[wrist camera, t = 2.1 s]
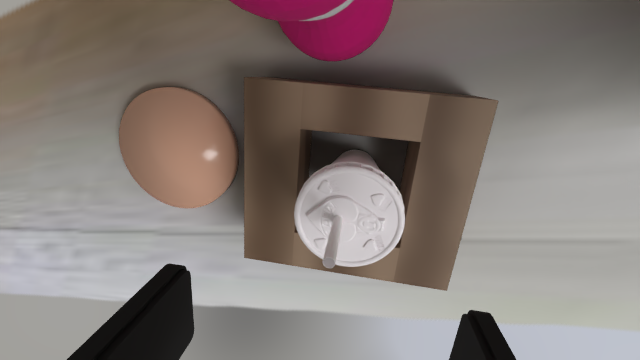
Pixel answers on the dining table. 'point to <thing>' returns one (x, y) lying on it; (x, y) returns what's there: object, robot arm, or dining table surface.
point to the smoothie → (350, 212)
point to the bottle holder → (375, 121)
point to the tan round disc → (178, 146)
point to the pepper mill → (326, 24)
